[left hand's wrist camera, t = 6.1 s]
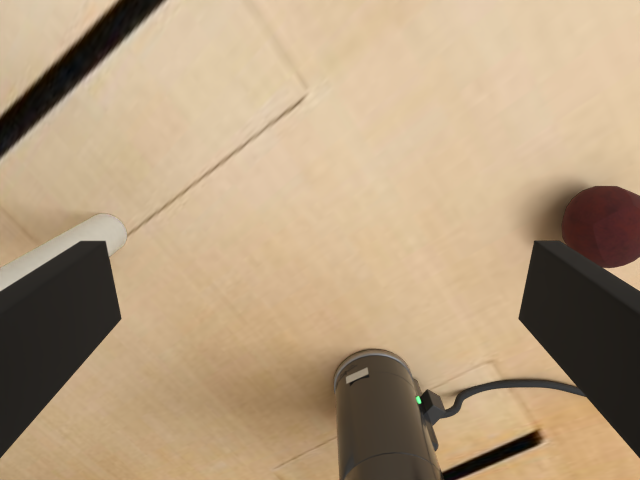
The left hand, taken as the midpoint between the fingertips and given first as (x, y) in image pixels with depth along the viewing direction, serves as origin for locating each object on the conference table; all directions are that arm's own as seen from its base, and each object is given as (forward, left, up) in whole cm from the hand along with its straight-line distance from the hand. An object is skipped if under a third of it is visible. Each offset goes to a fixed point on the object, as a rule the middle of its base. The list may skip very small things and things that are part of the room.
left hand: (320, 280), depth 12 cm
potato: (+6, +27, -28) cm, 39 cm away
